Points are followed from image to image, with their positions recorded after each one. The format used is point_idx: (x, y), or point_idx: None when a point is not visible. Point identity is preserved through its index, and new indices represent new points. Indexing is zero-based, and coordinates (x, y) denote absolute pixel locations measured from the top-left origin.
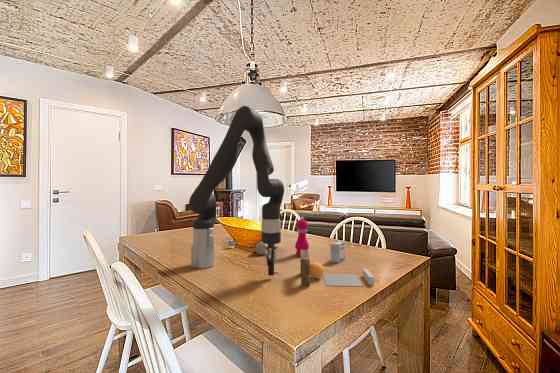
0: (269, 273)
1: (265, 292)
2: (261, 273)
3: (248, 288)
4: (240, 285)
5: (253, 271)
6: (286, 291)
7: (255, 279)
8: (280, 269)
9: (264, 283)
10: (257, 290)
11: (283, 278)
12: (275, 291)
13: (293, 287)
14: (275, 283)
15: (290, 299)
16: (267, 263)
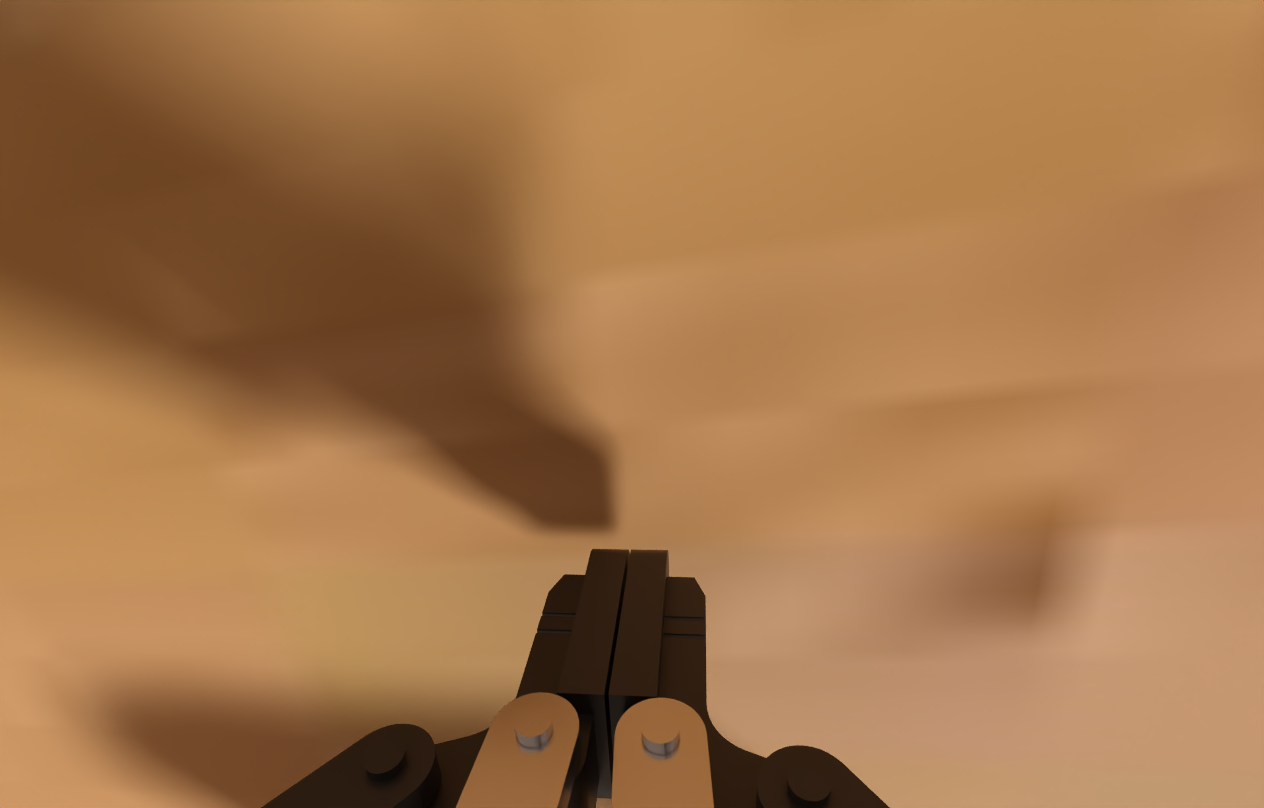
0: (553, 597)
1: (62, 500)
2: (989, 338)
3: (90, 219)
4: (165, 6)
5: (1199, 110)
6: (204, 719)
7: (581, 268)
8: (1209, 664)
9: (402, 455)
10: (78, 384)
11: None
12: (151, 612)
13: None
14: (442, 605)
15: (12, 744)
16: (282, 805)
